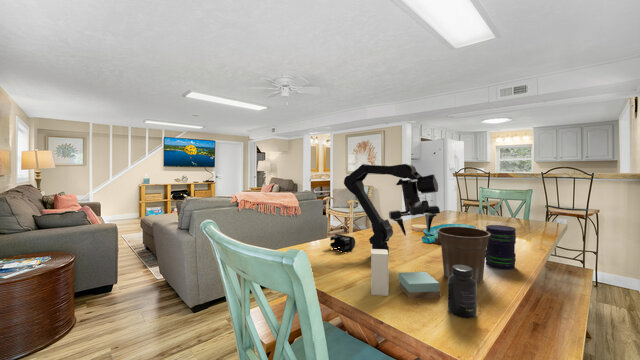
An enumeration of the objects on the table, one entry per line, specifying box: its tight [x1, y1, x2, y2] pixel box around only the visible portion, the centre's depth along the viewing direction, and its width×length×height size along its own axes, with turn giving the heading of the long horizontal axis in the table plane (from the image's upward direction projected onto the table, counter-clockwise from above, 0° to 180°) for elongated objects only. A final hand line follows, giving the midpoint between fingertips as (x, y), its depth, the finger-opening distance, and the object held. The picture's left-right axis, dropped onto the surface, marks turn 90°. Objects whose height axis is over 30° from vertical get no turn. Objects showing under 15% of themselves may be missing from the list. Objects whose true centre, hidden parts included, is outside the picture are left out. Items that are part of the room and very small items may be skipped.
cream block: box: [370, 248, 389, 297], centre depth 86 cm, size 5×5×12 cm
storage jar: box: [485, 224, 517, 271], centre depth 108 cm, size 10×10×15 cm
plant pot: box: [436, 226, 490, 284], centre depth 97 cm, size 16×16×16 cm
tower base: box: [398, 281, 441, 300], centre depth 86 cm, size 9×9×2 cm
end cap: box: [329, 233, 356, 253], centre depth 132 cm, size 10×7×7 cm
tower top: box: [397, 271, 440, 292], centre depth 86 cm, size 9×9×2 cm
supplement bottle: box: [447, 265, 478, 319], centre depth 73 cm, size 7×7×12 cm
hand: (416, 234), depth 111 cm, fingers open, 9 cm apart
